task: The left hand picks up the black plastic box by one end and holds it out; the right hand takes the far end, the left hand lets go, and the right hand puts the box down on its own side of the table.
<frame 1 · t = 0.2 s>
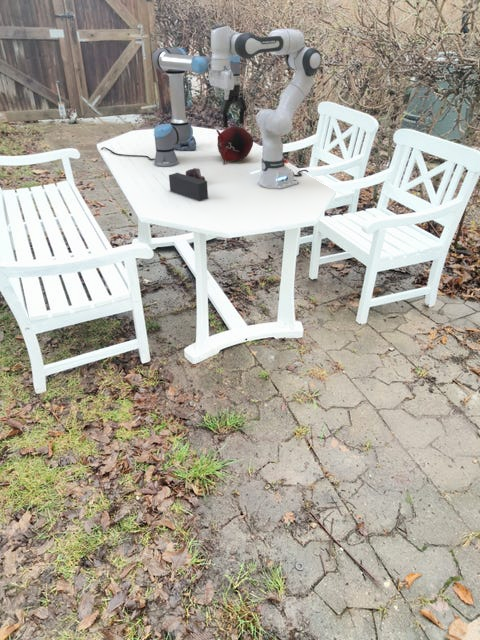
left hand: (233, 125, 259), 28 cm above the table, tool pointing down, fingers open, 13 cm apart
right hand: (221, 98, 219), 47 cm above the table, tool pointing down, fingers open, 8 cm apart
koala plush: (184, 148, 327), on the table
box: (188, 194, 244), on the table
rock: (195, 182, 261), on the table
dark red rounded piece: (234, 159, 302), on the table
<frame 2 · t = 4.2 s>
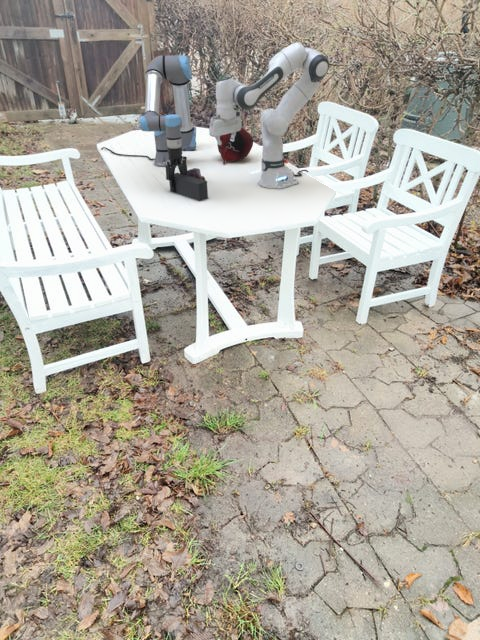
left hand: (178, 190, 249), 1 cm above the table, tool pointing down, fingers closed on box, 6 cm apart
right hand: (225, 143, 231), 26 cm above the table, tool pointing down, fingers open, 8 cm apart
box: (188, 194, 244), on the table, touching left hand
everything else where it was.
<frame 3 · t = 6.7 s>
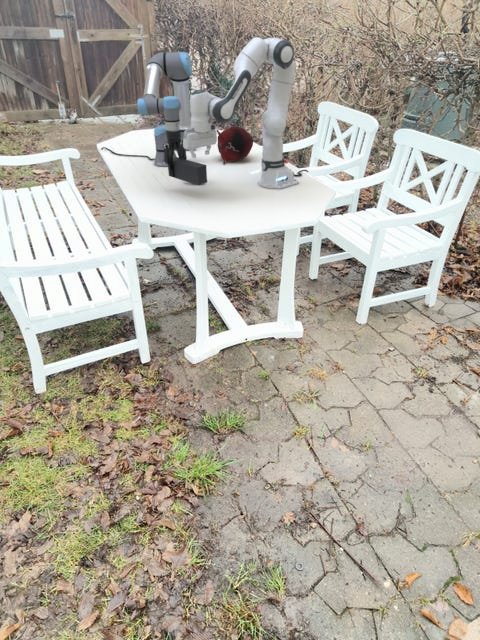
left hand: (177, 175, 244), 9 cm above the table, tool pointing down, fingers closed on box, 6 cm apart
right hand: (200, 156, 228), 22 cm above the table, tool pointing down, fingers open, 8 cm apart
box: (187, 179, 240), point 8 cm above the table, touching left hand
everything else where it was.
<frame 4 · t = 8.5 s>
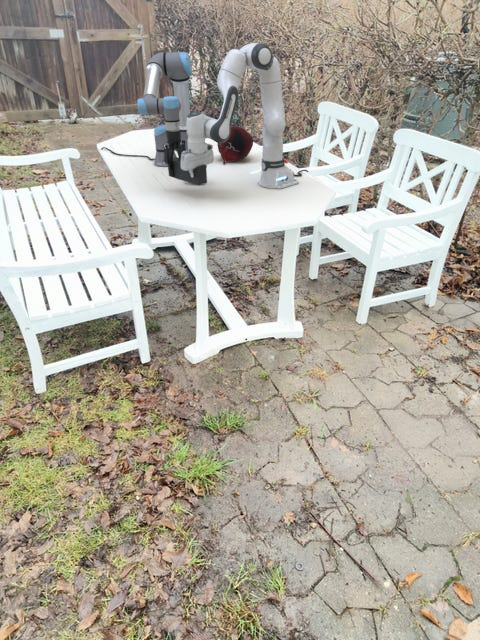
left hand: (177, 175, 244), 9 cm above the table, tool pointing down, fingers closed on box, 6 cm apart
right hand: (198, 175, 233), 12 cm above the table, tool pointing down, fingers closed on box, 6 cm apart
box: (187, 179, 240), point 8 cm above the table, touching left hand, right hand
everything else where it was.
when the left hand's fingers open (9 cm above the table, at t = 9.5 s): box stays where it is, held by the right hand.
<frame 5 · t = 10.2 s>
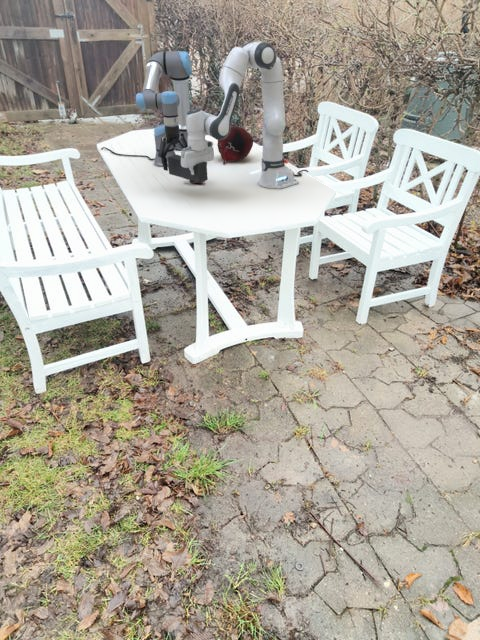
left hand: (175, 167, 243), 13 cm above the table, tool pointing down, fingers open, 13 cm apart
right hand: (198, 172, 232), 14 cm above the table, tool pointing down, fingers closed on box, 6 cm apart
box: (188, 176, 239), point 10 cm above the table, touching right hand
everything else where it was.
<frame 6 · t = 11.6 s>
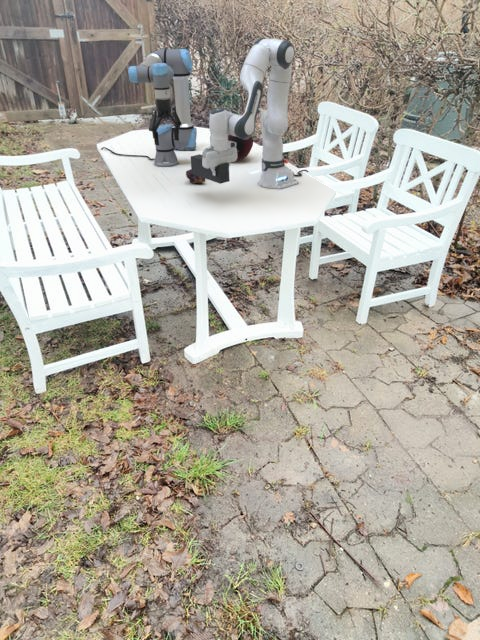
left hand: (167, 142, 238), 25 cm above the table, tool pointing down, fingers open, 13 cm apart
right hand: (220, 173, 226), 15 cm above the table, tool pointing down, fingers closed on box, 6 cm apart
box: (210, 177, 234), point 11 cm above the table, touching right hand
everything else where it was.
when the right hand's fingers open (5 cm above the table, at t = 15.1 s): box drops 1 cm, on the table.
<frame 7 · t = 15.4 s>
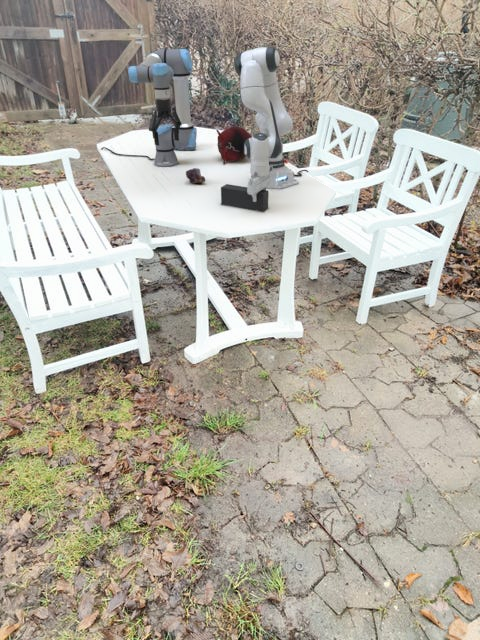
left hand: (167, 142, 238), 25 cm above the table, tool pointing down, fingers open, 13 cm apart
right hand: (259, 198, 223), 5 cm above the table, tool pointing down, fingers open, 8 cm apart
box: (244, 206, 229), on the table
everything else where it was.
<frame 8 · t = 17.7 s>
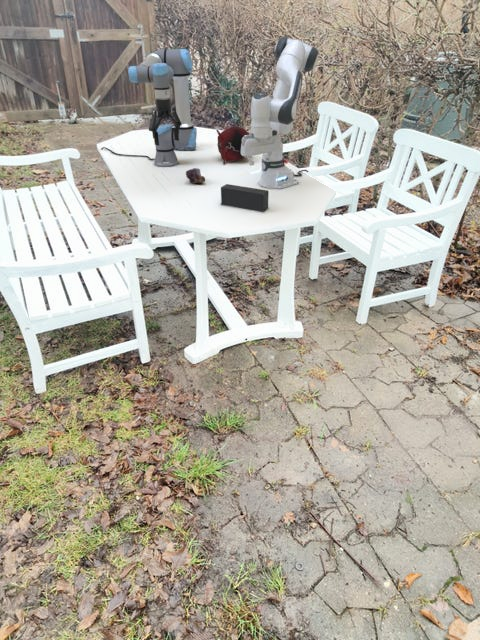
left hand: (167, 142, 238), 25 cm above the table, tool pointing down, fingers open, 13 cm apart
right hand: (259, 163, 213), 23 cm above the table, tool pointing down, fingers open, 8 cm apart
nothing on the table moved.
at the end: box inside the target area (8.2 cm from its centre), on the table; the left hand is holding nothing; the right hand is holding nothing; box at rest at the end (0.0 cm/s) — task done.
